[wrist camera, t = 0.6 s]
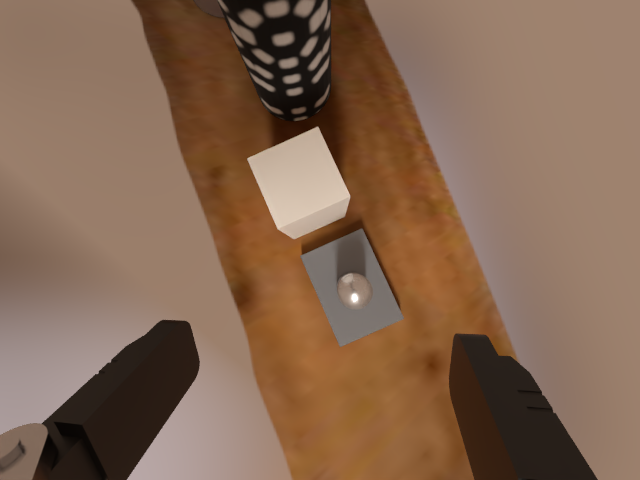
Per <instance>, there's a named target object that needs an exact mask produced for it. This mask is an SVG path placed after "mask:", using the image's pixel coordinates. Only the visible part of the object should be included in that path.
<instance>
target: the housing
mask: <svg viewBox="0 0 640 480" xmlns="http://www.w3.org/2000/svg"><path fill="white" fill-rule="evenodd" d="M247 160H248V162H249V164H250V166H251V169H252V171H253V173H254V176H255V178H256V180H257V183H258V185H259V187H260V189H261V192H262V194H263V196H264V199H265V201H266V203H267V206H268V208H269V210H270V212H271V215H272V217H273V219H274V222H275V224H276V226H277V228H278V230H280V231H282V232H283V233H285V234H286V235H288V236H290V237H291V238H293V239H296V238H299V237H301V236H303V235H305V234H308V233H310V232H312V231H314V230H316V229H319V228H321V227H323V226H325V225H328V224H330V223H332V222H334V221H337V220H339V219H341V218H343V217H345V214H346V211H347V207H348V204H349V200H350V194H349V192H348V190H347V188H346V186H345V184H344V181H343V179H342V177H341V175H340V173H339V171H338V168H337V166H336V164H335V162H334V160H333V158H332V155H331V153H330V151H329V149H328V147H327V145H326V142H325V140H324V138H323V136H322V134H321V132H320V129H319V127H316V128H314V129H311V130H309V131H307V132H305V133H303V134H300V135H298V136H296V137H294V138H291V139H289V140H287V141H285V142H283V143H280V144H278V145H276V146H274V147H271V148H269V149H267V150H265V151H262V152H260V153H258V154H256V155H254V156H251V157H249V158H247Z"/></svg>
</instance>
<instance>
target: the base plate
mask: <svg viewBox="0 0 640 480" xmlns="http://www.w3.org/2000/svg"><path fill="white" fill-rule="evenodd" d="M301 259H302V261H303V263H304V266H305V268H306V270H307V272H308V275H309V277H310V279H311V282H312V284H313V286H314V288H315V291H316V293H317V295H318V298H319V300H320V302H321V304H322V307H323V309H324V311H325V314H326V316H327V318H328V320H329V323H330V325H331V327H332V329H333V332H334V334H335V336H336V339H337V341H338V343H339V345H340V347H342V346H344V345H346V344H348V343H351V342H353V341H355V340H357V339H359V338H362V337H364V336H366V335H368V334H371V333H373V332H375V331H377V330H380V329H382V328H384V327H386V326H389V325H391V324H393V323H395V322H398V321H400V320H402V319H404V318H403V315H402V313H401V311H400V309H399V307H398V305H397V302H396V300H395V298H394V296H393V294H392V292H391V289H390V287H389V285H388V283H387V281H386V279H385V276H384V274H383V272H382V270H381V268H380V266H379V263H378V261H377V259H376V257H375V255H374V253H373V250H372V248H371V246H370V244H369V242H368V240H367V237H366V235H365V233H364V231H363V229H359V230H357V231H355V232H353V233H350V234H348V235H346V236H344V237H341V238H339V239H337V240H335V241H332V242H330V243H328V244H326V245H324V246H321V247H319V248H317V249H315V250H312V251H310V252H308V253H306V254H303V255H301Z"/></svg>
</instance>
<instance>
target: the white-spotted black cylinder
mask: <svg viewBox="0 0 640 480" xmlns="http://www.w3.org/2000/svg"><path fill="white" fill-rule="evenodd" d="M217 2H218V4H219V6H220V8H221V11H222V13H223V15H224V18H225V20H226V22H227V24H228V27H229V29H230V31H231V34H232V36H233V38H234V40H235V43H236V45H237V47H238V50H239V52H240V54H241V56H242V59H243V61H244V63H245V66H246V68H247V70H248V72H249V75H250V77H251V79H252V82H253V84H254V86H255V88H256V91H257V93H258V95H259V98H260V100H261V102H262V104H263V105H264V107H265V108H266V109H267V110H268V111H269V112H270V113H271V114H273V115H274V116H276V117H278V118H280V119H283V120H288V121H298V120H303V119H307V118H309V117H311V116H313V115H315V114H316V113H317V112H318V111H320V110H321V109H322V107H323V106H324V105H325V103H326V102H327V100H328V98H329V94H330V90H331V0H217Z"/></svg>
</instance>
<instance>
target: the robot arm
mask: <svg viewBox="0 0 640 480" xmlns="http://www.w3.org/2000/svg"><path fill="white" fill-rule="evenodd" d="M193 1H194V2H195V3H196V5H197V6H198V7H199V8H200V9H202V10H203V11H204V12H206V13H208V14H210V15H213V16H217V17H224V15H223V13H222V11H221V8H220V6H219V4H218V2H217V0H193ZM199 363H200V361H199V356H198V352H197V349H196V345H195V341H194V337H193V333H192V329H191V326H190V324H189V323H188V322H187V321H176V320H162V321H160V322H159V323H157V324H156V325H155V326H154V327H153V328H152V329H151V330H150V331H149V332H148V333H147V334H146V335H144V336H142V337H141V338H139V339H138V340H136V341H134V342H132V343H131V344H129V345H128V346H126V347H125V348H124V349H123V350H122V351H120V353H119V354H117V355H116V356H115V357H114V358H113V359H112V360H111V363H107V364H106V365H105V366H104V367H103V368H102V369H101V370H100V371H99V374H95V375H94V376H93V377H92V378H91V379H90V380H89V381H88V382H87V383H86V384H85V385H83V386H82V387H81V388H80V389H79V390H78V391H77V392H76V393H75V394H74V395H73V396H71V398H69V399H68V400H67V401H66V402H65V403H64V404H63V405H62V406H61V407H60V408H58V409H57V410H56V411H55V412H54V413H53V414H52V415H51V416H50V417H49V418H47V419H46V420H45V421H44V422H43V423H42V424H37V423H33V424H27V425H23V426H20V427H17V428H14V429H12V430H9V431H7V432H5V433H3V434H2V435H0V480H127V478H128V477H129V475H130V474H131V472H132V471H133V470H134V468H135V467H136V465H137V464H138V462H139V461H140V459H141V458H142V456H143V455H144V453H145V452H146V450H147V449H148V448H149V446H150V445H151V443H152V442H153V440H154V439H155V437H156V436H157V434H158V433H159V431H160V430H161V429H162V427H163V425H164V424H165V423H166V421H167V420H168V418H169V417H170V415H171V414H172V412H173V411H174V409H175V408H176V406H177V405H178V404H179V402H180V401H181V399H182V398H183V396H184V395H185V393H186V392H187V390H188V389H189V387H190V386H191V385H192V383H193V382H194V380H195V378H196V376H197V374H198V371H199ZM449 388H450V396H451V400H452V404H453V407H454V411H455V414H456V418H457V421H458V425H459V428H460V431H461V435H462V438H463V442H464V445H465V449H466V452H467V455H468V459H469V462H470V466H471V469H472V473H473V476H474V479H475V480H598V479H597V478H596V476H595V475H594V473H593V471H592V470H591V468H590V467H589V465H588V464H587V462H586V461H585V459H584V457H583V456H582V454H581V453H580V451H579V450H578V448H577V446H576V445H575V443H574V442H573V440H572V439H571V437H570V436H569V434H568V433H567V431H566V429H565V427H564V426H563V424H562V423H561V421H560V420H559V418H558V416H557V415H556V413H553V410H552V407H551V406H550V404H549V402H548V401H547V399H546V398H545V396H543V395H542V391H541V390H540V388H539V387H538V385H537V383H536V382H535V380H534V379H533V377H532V376H531V374H530V373H529V372H528V371H527V370H526V369H525V368H524V367H522V366H521V365H520V364H519V363H518V362H517V361H515V360H514V359H513V358H512V357H511V356H498V354H497V352H496V351H495V349H494V347H493V345H492V343H491V341H490V340H489V338H488V337H487V336H486V335H478V334H455V335H454V339H453V347H452V356H451V364H450V373H449Z"/></svg>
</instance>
